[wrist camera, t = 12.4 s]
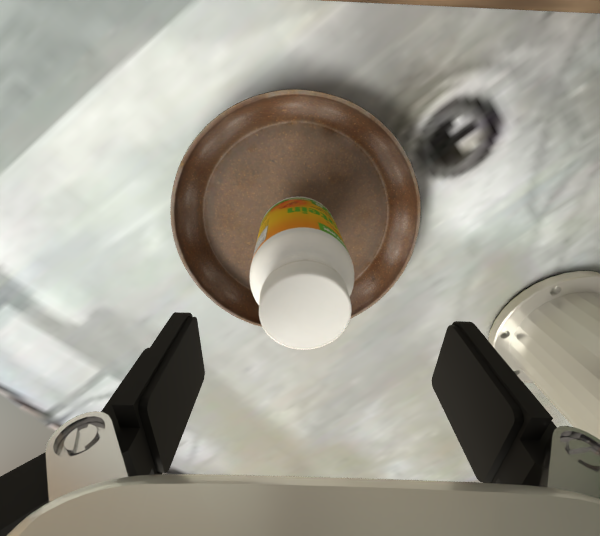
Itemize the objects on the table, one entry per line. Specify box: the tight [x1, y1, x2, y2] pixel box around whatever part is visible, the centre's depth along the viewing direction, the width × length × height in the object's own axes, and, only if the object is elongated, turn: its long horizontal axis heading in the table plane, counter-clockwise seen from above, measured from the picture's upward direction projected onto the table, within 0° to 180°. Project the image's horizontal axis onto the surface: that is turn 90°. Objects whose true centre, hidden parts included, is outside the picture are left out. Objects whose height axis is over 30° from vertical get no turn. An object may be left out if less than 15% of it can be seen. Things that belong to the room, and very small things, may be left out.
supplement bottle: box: [250, 196, 354, 350], centre depth 17 cm, size 5×5×10 cm
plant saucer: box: [170, 89, 421, 327], centre depth 23 cm, size 18×18×3 cm
